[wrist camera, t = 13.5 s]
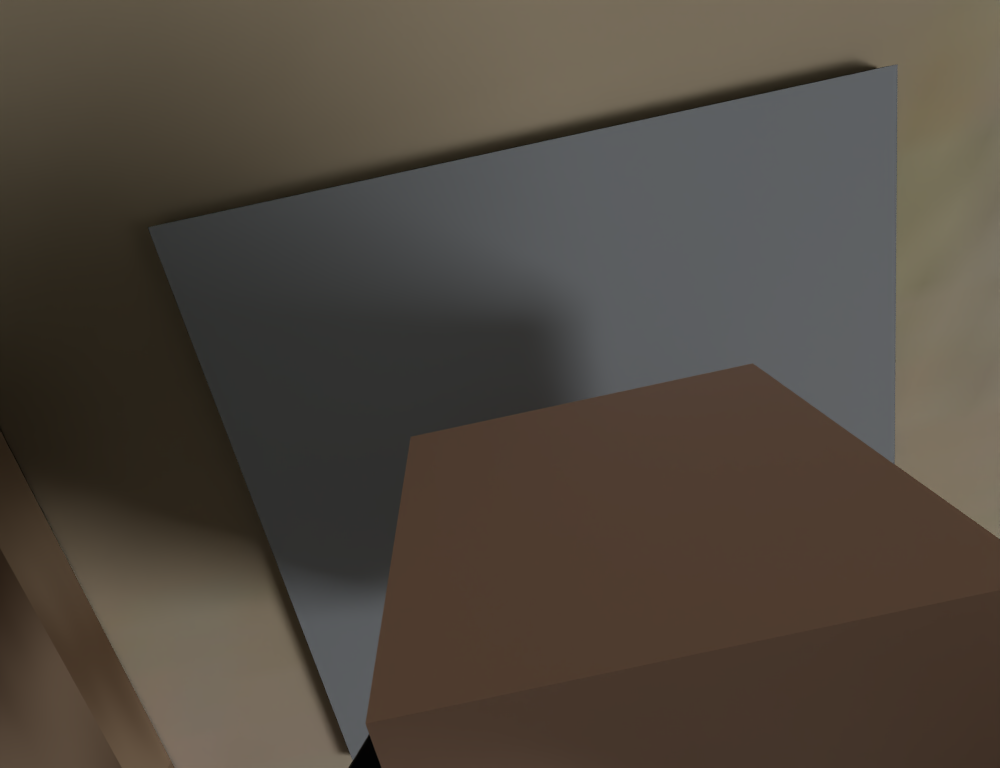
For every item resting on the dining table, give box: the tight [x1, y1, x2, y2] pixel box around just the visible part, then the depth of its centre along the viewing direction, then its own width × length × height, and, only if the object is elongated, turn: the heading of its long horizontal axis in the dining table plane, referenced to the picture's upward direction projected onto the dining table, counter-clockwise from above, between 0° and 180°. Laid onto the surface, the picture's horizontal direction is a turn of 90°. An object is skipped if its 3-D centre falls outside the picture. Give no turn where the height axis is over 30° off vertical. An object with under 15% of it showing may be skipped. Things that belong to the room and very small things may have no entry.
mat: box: [148, 65, 897, 760], centre depth 12 cm, size 12×12×1 cm
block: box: [365, 363, 1000, 768], centre depth 8 cm, size 5×5×5 cm
